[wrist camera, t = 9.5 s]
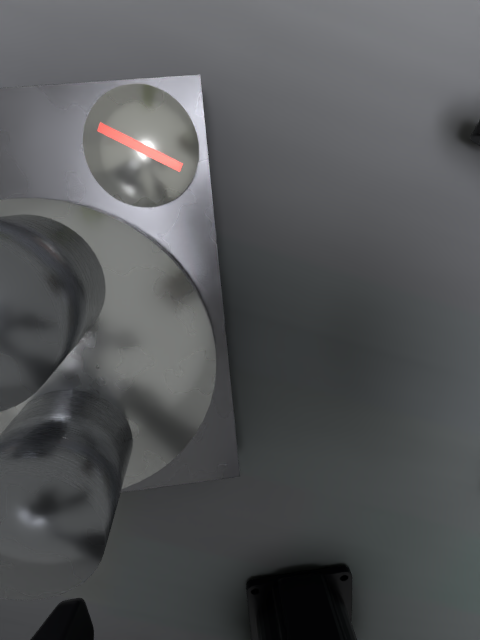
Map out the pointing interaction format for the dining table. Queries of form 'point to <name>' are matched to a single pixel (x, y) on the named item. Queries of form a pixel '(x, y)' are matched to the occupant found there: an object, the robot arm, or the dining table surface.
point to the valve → (476, 134)
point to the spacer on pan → (59, 491)
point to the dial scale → (134, 260)
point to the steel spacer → (42, 301)
